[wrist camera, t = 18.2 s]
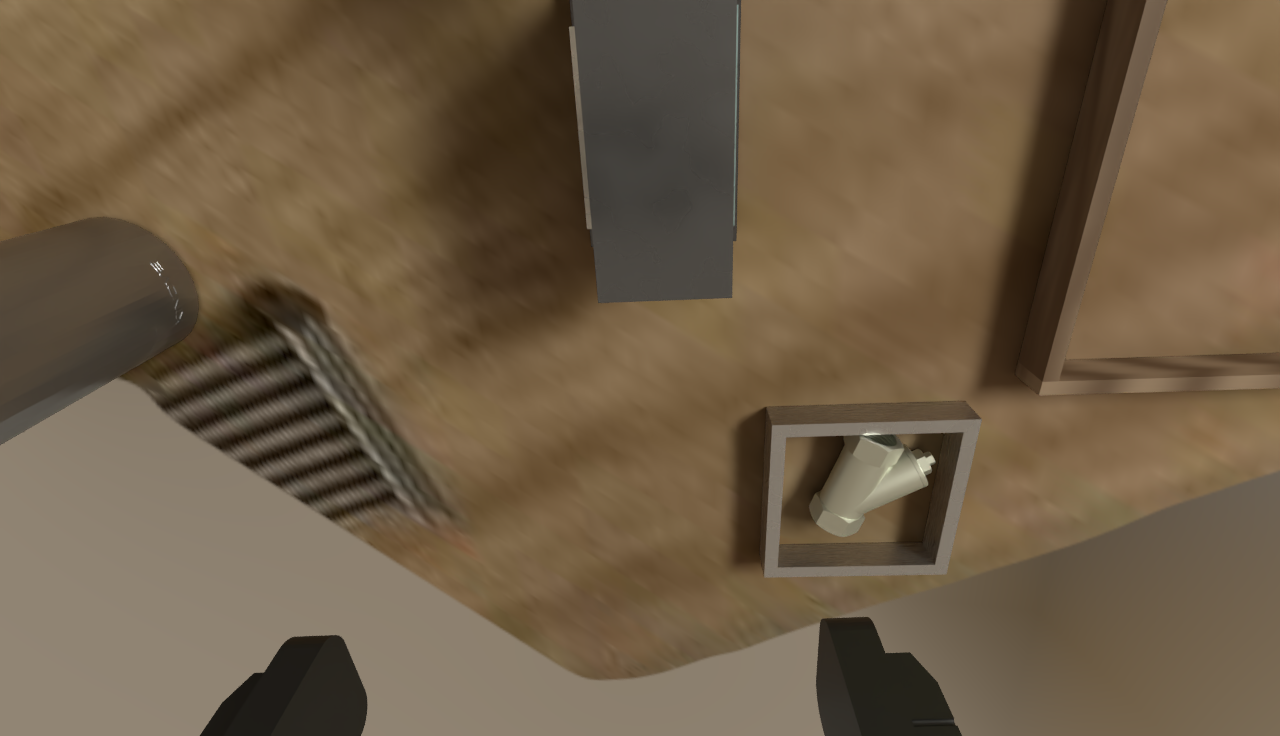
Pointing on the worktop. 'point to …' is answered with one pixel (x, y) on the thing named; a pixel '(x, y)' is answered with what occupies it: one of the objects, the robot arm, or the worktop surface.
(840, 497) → the pipe fitting
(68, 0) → the worktop surface
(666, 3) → the box
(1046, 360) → the frame
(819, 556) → the parts frame
